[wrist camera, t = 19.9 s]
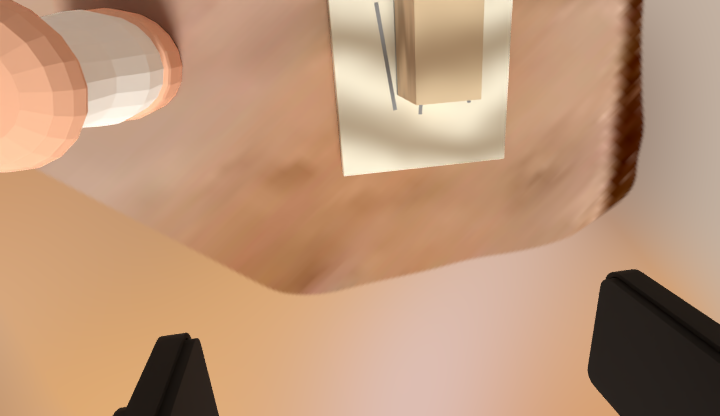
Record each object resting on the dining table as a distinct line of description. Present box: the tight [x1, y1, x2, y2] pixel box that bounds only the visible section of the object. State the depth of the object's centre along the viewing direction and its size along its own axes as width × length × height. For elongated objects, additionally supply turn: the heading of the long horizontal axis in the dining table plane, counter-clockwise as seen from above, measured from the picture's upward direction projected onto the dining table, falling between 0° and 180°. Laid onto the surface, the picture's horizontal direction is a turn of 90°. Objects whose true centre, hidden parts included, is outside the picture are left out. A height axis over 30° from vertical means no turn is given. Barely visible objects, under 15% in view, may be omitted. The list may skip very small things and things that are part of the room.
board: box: [327, 0, 513, 176], centre depth 34 cm, size 20×14×2 cm
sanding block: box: [393, 0, 484, 105], centre depth 31 cm, size 7×4×6 cm, turn 4°
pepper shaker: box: [0, 0, 182, 172], centre depth 24 cm, size 7×7×19 cm
